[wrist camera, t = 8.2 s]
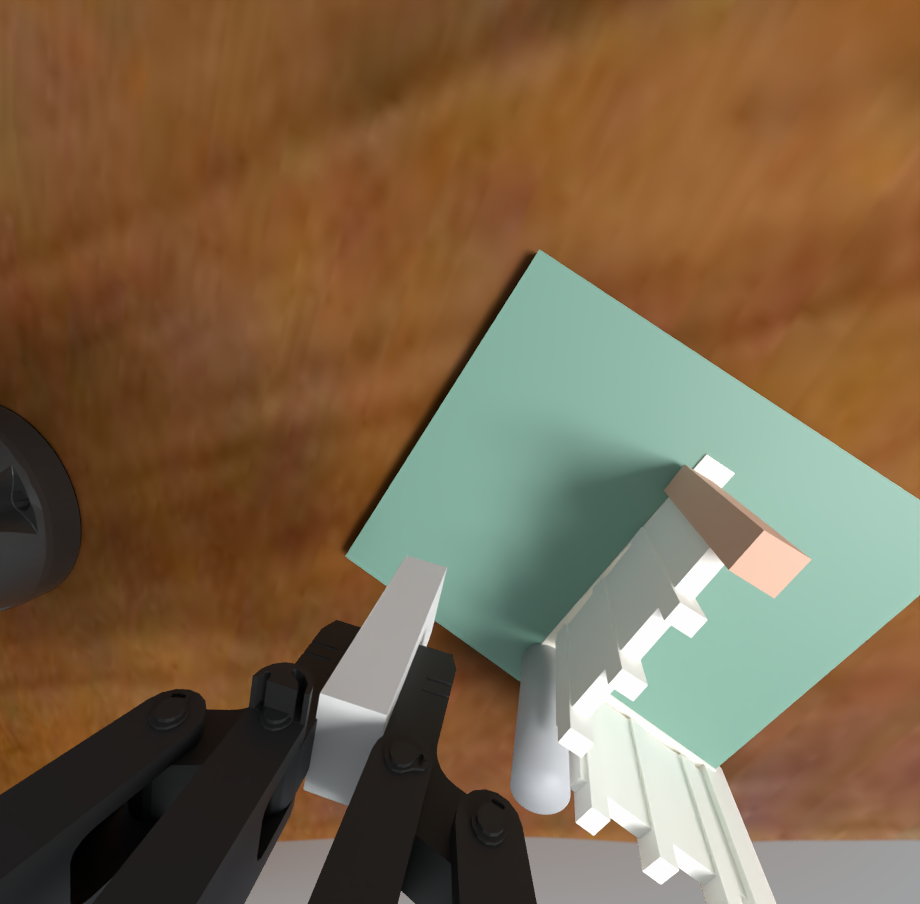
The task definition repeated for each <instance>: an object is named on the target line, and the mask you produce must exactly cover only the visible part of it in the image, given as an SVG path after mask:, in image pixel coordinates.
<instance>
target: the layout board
mask: <svg viewBox="0 0 920 904" xmlns="http://www.w3.org/2000/svg"><path fill="white" fill-rule="evenodd" d="M684 464H685V465H687V466H688V467H690V468H692V469H693V470H695V471H696V472H698V473H700V474H701V475H703V476H705V477H706V478H708V479H710V480H711V481H713V482H714V483H716V484H717V485H718V486H719V487H721V488H722V489H723V490H724V491H726V492H727V493H728V494H729V495H731V496H732V497H733V498H735V499H736V500H737V501H738V502H740V503H741V504H742V505H743V506H745V507H746V508H747V509H748V510H750V511H751V512H752V513H754V514H755V515H756V516H757V517H759V518H760V519H761V520H762V521H764V522H765V523H766V524H767V525H769V526H770V527H771V528H773V529H774V530H775V531H776V532H778V533H779V534H780V535H781V536H783V537H784V538H785V539H786V540H788V541H789V542H790V543H792V544H793V545H794V546H795V547H797V548H798V549H799V550H800V551H802V552H803V553H804V554H805V555H807V556H808V557H809V558H811V559H812V560H811V561H810V562H809V563H808V564H807V565H806V566H805V567H804V568H803V569H802V570H801V571H800V572H799V573H798V574H797V575H796V576H795V577H794V579H793V580H792V581H791V582H790V583H789V584H788V585H787V586H786V587H785V588H784V589H783V590H782V591H781V592H780V593H779V594H778V595H777V596H776V597H775V598H773V597H771V596H770V595H768V594H766V593H765V592H763V591H761V590H760V589H758V588H757V587H755V586H753V585H752V584H750V583H749V582H747V581H745V580H744V579H742V578H741V577H739V576H737V575H736V574H734V573H733V572H731V571H729V570H728V569H727V567H726V566H725V565H724V566H723V567H722V568H721V569H720V570H719V572H718V573H717V574H716V575H715V576H714V577H713V578H712V579H711V581H710V582H709V583H708V584H707V585H706V586H705V587H704V588H703V590H702V591H701V592H700V593H699V594H698V595H697V596H696V598H695V599H696V601H697V602H698V604H699V606H700V608H701V609H702V611H703V613H704V614H705V616H706V618H707V621H706V622H705V624H704V625H703V626H702V627H701V628H700V629H699V630H698V631H697V632H696V633H695V634H694V636H693V637H692V638H690V637H689V636H687V635H686V634H684V633H682V632H681V631H679V630H678V629H676V628H675V627H673V626H670V627H669V628H668V629H667V630H666V631H665V633H664V634H663V635H662V636H661V637H660V638H659V639H658V640H657V642H656V643H655V644H654V645H653V646H652V647H651V648H650V649H649V651H648V652H647V653H646V654H645V655H644V656H643V657H642V659H641V663H642V667H643V670H644V673H645V677H646V680H647V684H648V686H647V687H646V688H645V689H644V690H643V691H642V692H641V694H640V695H639V696H638V697H637V698H636V699H635V700H634V701H632V700H630V699H629V698H627V697H626V696H624V695H622V694H621V693H619V692H618V691H616V690H615V689H614V690H613V691H612V692H611V694H610V695H609V696H608V697H607V698H606V699H605V700H604V701H603V702H605V703H606V704H608V705H609V706H610V707H612V708H613V709H615V710H616V711H617V712H619V713H620V714H622V715H623V716H624V717H626V718H627V719H630V718H631V719H633V720H634V721H636V722H637V723H638V724H640V725H641V726H643V727H644V729H645V732H647V733H648V734H650V735H651V736H652V737H654V738H655V739H657V740H658V741H660V742H661V743H662V744H664V745H665V746H667V747H668V748H669V749H671V750H672V751H674V752H675V753H676V754H678V755H680V754H682V755H683V756H685V757H686V758H688V759H689V760H690V761H692V762H693V763H694V764H695V767H696V768H697V769H699V768H700V767H702V766H703V765H704V764H705V765H706V766H708V767H709V768H711V769H712V770H713V771H716V768H717V767H719V766H720V765H721V764H722V763H723V762H724V761H726V760H727V759H728V758H729V757H730V756H731V755H733V754H734V753H735V752H736V751H737V750H739V749H740V748H741V747H742V746H743V745H744V744H746V743H747V742H748V741H749V740H750V739H751V738H753V737H754V736H755V735H756V734H757V733H758V732H760V731H761V730H762V729H763V728H764V727H765V726H767V725H768V724H769V723H770V722H771V721H773V720H774V719H775V718H776V717H777V716H778V715H780V714H781V713H782V712H783V711H784V710H785V709H787V708H788V707H789V706H790V705H791V704H792V703H794V702H795V701H796V700H797V699H798V698H800V697H801V696H802V695H803V694H804V693H805V692H807V691H808V690H809V689H810V688H811V687H812V686H814V685H815V684H816V683H817V682H818V681H819V680H821V679H822V678H823V677H824V676H825V675H826V674H828V673H829V672H830V671H831V670H832V669H834V668H835V667H836V666H837V665H838V664H839V663H841V662H842V661H843V660H844V659H845V658H846V657H848V656H849V655H850V654H851V653H852V652H853V651H855V650H856V649H857V648H858V647H859V646H860V645H862V644H863V643H864V642H865V641H866V640H868V639H869V638H870V637H871V636H872V635H873V634H875V633H876V632H877V631H878V630H879V629H880V628H882V627H883V626H884V625H885V624H886V623H887V622H889V621H890V620H891V619H892V618H893V617H895V616H896V615H897V614H898V613H899V612H900V611H902V610H903V609H904V608H905V607H906V606H907V605H909V604H910V603H911V602H912V601H913V600H914V599H916V598H917V597H918V596H919V595H920V500H919V499H917V498H916V497H914V496H913V495H911V494H910V493H908V492H907V491H905V490H904V489H902V488H901V487H899V486H898V485H896V484H894V483H893V482H891V481H890V480H888V479H887V478H885V477H884V476H882V475H881V474H879V473H878V472H876V471H875V470H873V469H872V468H870V467H869V466H867V465H866V464H864V463H863V462H861V461H860V460H858V459H857V458H855V457H854V456H852V455H850V454H849V453H847V452H846V451H844V450H843V449H841V448H840V447H838V446H837V445H835V444H834V443H832V442H831V441H829V440H828V439H826V438H825V437H823V436H822V435H820V434H819V433H817V432H816V431H814V430H813V429H811V428H810V427H808V426H806V425H805V424H803V423H802V422H800V421H799V420H797V419H796V418H794V417H793V416H791V415H790V414H788V413H787V412H785V411H784V410H782V409H781V408H779V407H778V406H776V405H775V404H773V403H772V402H770V401H769V400H767V399H766V398H764V397H762V396H761V395H759V394H758V393H756V392H755V391H753V390H752V389H750V388H749V387H747V386H746V385H744V384H743V383H741V382H740V381H738V380H737V379H735V378H734V377H732V376H731V375H729V374H728V373H726V372H725V371H723V370H722V369H720V368H718V367H717V366H715V365H714V364H712V363H711V362H709V361H708V360H706V359H705V358H703V357H702V356H700V355H699V354H697V353H696V352H694V351H693V350H691V349H690V348H688V347H687V346H685V345H684V344H682V343H681V342H679V341H678V340H676V339H674V338H673V337H671V336H670V335H668V334H667V333H665V332H664V331H662V330H661V329H659V328H658V327H656V326H655V325H653V324H652V323H650V322H649V321H647V320H646V319H644V318H643V317H641V316H640V315H638V314H637V313H635V312H634V311H632V310H630V309H629V308H627V307H626V306H624V305H623V304H621V303H620V302H618V301H617V300H615V299H614V298H612V297H611V296H609V295H608V294H606V293H605V292H603V291H602V290H600V289H599V288H597V287H596V286H594V285H593V284H591V283H590V282H588V281H586V280H585V279H583V278H582V277H580V276H579V275H577V274H576V273H574V272H573V271H571V270H570V269H568V268H567V267H565V266H564V265H562V264H561V263H559V262H558V261H556V260H555V259H553V258H552V257H550V256H549V255H547V254H546V253H544V252H542V251H541V250H539V251H538V253H537V254H536V256H535V257H534V259H533V260H532V262H531V264H530V265H529V267H528V268H527V270H526V272H525V273H524V275H523V276H522V278H521V279H520V281H519V283H518V284H517V286H516V287H515V289H514V290H513V292H512V294H511V295H510V297H509V298H508V300H507V302H506V303H505V305H504V306H503V308H502V309H501V311H500V313H499V314H498V316H497V317H496V319H495V321H494V322H493V324H492V325H491V327H490V328H489V330H488V332H487V333H486V335H485V336H484V338H483V339H482V341H481V343H480V344H479V346H478V347H477V349H476V351H475V352H474V354H473V355H472V357H471V358H470V360H469V362H468V363H467V365H466V366H465V368H464V370H463V371H462V373H461V374H460V376H459V377H458V379H457V381H456V382H455V384H454V385H453V387H452V388H451V390H450V392H449V393H448V395H447V396H446V398H445V400H444V401H443V403H442V404H441V406H440V407H439V409H438V411H437V412H436V414H435V415H434V417H433V419H432V420H431V422H430V423H429V425H428V426H427V428H426V430H425V431H424V433H423V434H422V436H421V437H420V439H419V441H418V442H417V444H416V445H415V447H414V449H413V450H412V452H411V453H410V455H409V456H408V458H407V460H406V461H405V463H404V464H403V466H402V467H401V469H400V471H399V472H398V474H397V475H396V477H395V479H394V480H393V482H392V483H391V485H390V486H389V488H388V490H387V491H386V493H385V494H384V496H383V498H382V499H381V501H380V502H379V504H378V505H377V507H376V509H375V510H374V512H373V513H372V515H371V516H370V518H369V520H368V521H367V523H366V524H365V526H364V528H363V529H362V531H361V532H360V534H359V535H358V537H357V539H356V540H355V542H354V543H353V545H352V547H351V548H350V550H349V551H348V553H347V554H346V556H345V557H347V558H348V559H349V560H351V561H352V562H354V563H355V564H356V565H358V566H359V567H361V568H362V569H363V570H365V571H366V572H368V573H369V574H370V575H372V576H373V577H375V578H376V579H377V580H379V581H380V582H382V583H383V584H384V585H386V586H388V584H389V582H390V581H391V579H392V578H393V576H394V574H395V573H396V571H397V570H398V568H399V567H400V565H401V563H402V562H403V560H404V559H405V557H406V556H410V557H413V558H417V559H420V560H424V561H427V562H431V563H434V564H437V565H441V566H444V567H447V570H446V574H445V578H444V582H443V586H442V591H441V595H440V599H439V603H438V607H437V611H436V616H435V621H436V622H437V623H439V624H440V625H442V626H443V627H444V628H446V629H447V630H448V631H450V632H451V633H453V634H454V635H455V636H457V637H458V638H460V639H461V640H462V641H464V642H465V643H467V644H468V645H469V646H471V647H472V648H474V649H475V650H476V651H478V652H479V653H481V654H482V655H483V656H485V657H486V658H488V659H489V660H490V661H492V662H493V663H494V664H496V665H497V666H499V667H500V668H501V669H503V670H504V671H506V672H507V673H508V674H510V675H511V676H513V677H514V678H515V679H517V680H518V681H520V682H521V673H522V662H523V655H524V653H525V651H526V650H527V649H528V648H529V647H530V646H532V645H535V644H540V643H541V644H542V645H549V646H551V647H554V648H555V640H556V639H557V633H558V632H559V631H560V630H561V628H562V627H563V626H564V624H565V623H567V624H569V623H570V621H571V620H572V619H573V618H574V616H575V615H576V614H577V613H578V611H579V610H580V609H581V608H582V606H583V605H584V604H585V602H586V601H587V600H588V599H589V597H590V596H591V595H592V594H593V592H592V589H593V588H594V586H595V585H596V584H597V583H598V581H599V580H600V579H601V578H602V577H603V578H604V579H605V577H606V576H607V575H608V573H609V572H610V571H611V570H612V568H613V567H614V566H615V565H616V563H617V562H618V561H619V560H620V558H621V557H622V556H623V555H624V553H625V552H626V551H627V550H628V548H629V547H630V546H631V544H632V543H631V540H632V538H633V537H634V536H635V535H636V533H637V532H638V531H639V530H640V528H641V527H642V528H645V527H646V526H647V524H648V523H649V522H650V521H651V519H652V518H653V517H654V516H655V514H656V513H657V512H658V510H659V509H660V508H661V507H662V505H663V504H664V503H665V502H666V500H667V499H668V498H669V496H668V495H667V494H666V493H665V492H664V490H665V488H666V487H667V486H668V484H669V483H670V482H671V481H672V479H673V478H674V477H675V476H676V474H677V473H678V472H679V470H680V469H681V468H682V467H683V465H684Z"/></svg>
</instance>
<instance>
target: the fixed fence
mask: <svg viewBox="0 0 920 904" xmlns="http://www.w3.org/2000/svg"><path fill="white" fill-rule="evenodd" d="M592 724H593V733H594V742H595V744H594V745H593V746H592V747H591V748H590V749H589V750H588V752H587V753H586V754H585V755H584V756H583V757H582V758H581V757H579V756H578V755H576V754H575V753H573V752H572V751H570V750H569V749H567V748H566V747H564V746H563V745H561V744H560V743H558V727H556V662H555V648H554V647H551V646H549V645H542V644H541V643H540V644H535V645H532V646H530V647H529V648H528V649H527V650H526V651H525V653H524V655H523V662H522V673H521V683H520V693H519V703H518V713H517V723H516V733H515V743H514V753H513V763H512V773H511V783H510V787H511V792H512V794H513V796H514V798H515V799H516V801H517V802H518V803H519V804H520V805H521V806H523V807H524V808H526V809H527V810H529V811H532V812H534V813H538V814H554V813H557V812H559V811H561V810H563V809H564V808H565V807H566V806H567V804H568V802H569V800H570V789H571V790H573V791H574V802H575V822H576V823H577V824H578V825H580V826H581V827H583V828H584V829H585V830H587V831H588V832H589V833H591V834H592V835H593V836H594V835H595V834H596V833H597V832H598V831H599V830H601V829H602V828H603V827H604V826H605V825H606V824H607V823H608V822H610V818H611V819H613V820H614V821H615V822H617V823H618V824H620V825H621V826H622V827H624V828H625V829H626V830H628V831H629V832H631V833H632V834H633V835H635V836H636V837H637V842H638V848H639V853H640V860H641V865H642V871H643V872H644V873H646V874H647V875H648V876H650V877H651V878H652V879H654V880H655V881H657V882H658V883H659V884H663V883H664V882H665V881H666V880H668V879H669V878H670V877H672V876H673V875H674V874H675V873H677V872H678V871H679V868H680V869H682V870H683V871H684V872H686V873H687V874H688V875H690V876H691V877H693V878H694V879H695V880H697V881H698V882H700V884H701V888H702V892H703V895H704V899H705V902H706V904H776V902H775V899H774V897H773V894H772V892H771V889H770V887H769V884H768V882H767V879H766V877H765V874H764V872H763V870H762V867H761V865H760V862H759V860H758V857H757V855H756V852H755V850H754V848H753V845H752V843H751V840H750V838H749V835H748V833H747V830H746V828H745V825H744V823H743V820H742V818H741V816H740V813H739V811H738V808H737V806H736V803H735V801H734V798H733V796H732V793H731V791H730V788H729V786H728V784H727V781H726V779H725V776H724V774H723V771H722V769H721V768H720V767H717V768H716V771H713V770H712V769H711V768H709V767H708V766H706V765H705V764H704V765H703V766H702V767H700V768H699V769H697V768H696V767H695V764H694V763H693V762H692V761H690V760H689V759H688V758H686V757H685V756H683V755H682V754H680V755H678V754H676V753H675V752H674V751H672V750H671V749H669V748H668V747H667V746H665V745H664V744H662V743H661V742H660V741H658V740H657V739H655V738H654V737H652V736H651V735H650V734H648V733H647V732H645V729H644V727H643V726H641V725H640V724H638V723H637V722H636V721H634V720H633V719H631V718H630V719H627V718H626V717H624V716H623V715H622V714H620V713H619V712H617V711H616V710H615V709H613V708H612V707H610V706H609V705H608V704H606V703H605V702H603V703H602V704H601V705H600V706H599V707H598V708H597V709H596V710H595V712H594V713H593V714H592ZM678 867H679V868H678Z"/></svg>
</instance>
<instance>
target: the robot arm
mask: <svg viewBox="0 0 920 904" xmlns="http://www.w3.org/2000/svg"><path fill="white" fill-rule="evenodd" d="M80 538H81V523H80V514H79V508H78V504H77V500H76V496H75V493H74V490H73V487H72V484H71V482H70V480H69V477H68V475H67V473H66V471H65V469H64V467H63V465H62V464H61V462H60V460H59V459H58V457H57V456H56V454H55V453H54V451H53V450H52V448H51V447H50V446H49V444H48V443H47V442H46V441H45V440H44V438H43V437H42V436H41V435H40V434H39V433H38V432H37V431H36V430H35V429H34V428H33V427H32V426H31V425H30V424H28V423H27V422H26V421H25V420H23V419H22V418H21V417H19V416H18V415H16V414H15V413H13V412H12V411H10V410H8V409H6V408H4V407H2V406H0V611H3V610H7V609H10V608H13V607H16V606H19V605H21V604H23V603H25V602H27V601H30V600H32V599H34V598H36V597H38V596H40V595H43V594H45V593H47V592H49V591H51V590H53V589H54V588H56V587H57V586H58V585H60V584H61V583H62V582H63V581H64V580H65V579H66V577H67V576H68V575H69V573H70V572H71V570H72V568H73V566H74V564H75V561H76V559H77V555H78V551H79V546H80ZM446 570H447V567H444V566H441V565H437V564H434V563H431V562H427V561H424V560H420V559H417V558H413V557H410V556H406V557H405V559H404V560H403V562H402V563H401V565H400V567H399V568H398V570H397V571H396V573H395V574H394V576H393V578H392V579H391V581H390V582H389V584H388V586H387V587H386V589H385V590H384V592H383V594H382V595H381V597H380V598H379V600H378V602H377V603H376V605H375V606H374V608H373V610H372V611H371V613H370V614H369V616H368V618H367V619H366V621H365V622H364V624H363V625H362V627H357V626H354V625H351V624H348V623H344V622H341V621H338V620H336V621H334V622H333V623H331V624H329V625H327V626H326V627H324V628H322V629H321V631H320V632H319V633H318V634H317V636H316V637H315V638H314V640H313V641H312V644H310V645H309V646H308V648H307V649H306V650H305V652H304V654H302V655H301V657H300V658H299V659H298V661H297V662H296V663H295V664H293V663H286V662H285V663H276V664H272V665H269V666H267V667H264V668H262V669H261V670H260V671H258V672H257V673H256V674H255V675H253V679H252V687H251V695H250V703H249V707H248V708H244V709H239V710H207V709H206V703H205V700H204V699H203V698H202V696H201V695H200V694H199V693H196V692H194V691H191V690H184V689H175V690H171V691H166V692H162V693H160V694H158V695H156V696H154V697H152V698H150V699H148V700H146V701H145V702H143V703H142V704H140V705H139V706H137V707H135V708H134V709H132V710H131V711H129V712H128V713H126V714H125V715H123V716H122V717H120V718H118V719H117V720H115V721H114V722H112V723H111V724H109V725H108V726H106V727H105V728H103V729H101V730H100V731H98V732H97V733H95V734H94V735H92V736H91V737H89V738H87V739H86V740H84V741H83V742H81V743H80V744H78V745H77V746H75V747H74V748H72V749H70V750H69V751H67V752H66V753H64V754H63V755H61V756H60V757H58V758H57V759H55V760H53V761H52V762H50V763H49V764H47V765H46V766H44V767H43V768H41V769H40V770H38V771H36V772H35V773H33V774H32V775H30V776H29V777H27V778H26V779H24V780H23V781H21V782H19V783H18V784H16V785H15V786H13V787H12V788H10V789H9V790H7V791H6V792H4V793H2V794H1V795H0V904H244V903H245V901H246V899H247V897H248V896H249V894H250V891H251V890H252V888H253V886H254V884H255V882H256V880H257V878H258V876H259V875H260V872H261V871H262V869H263V867H264V865H265V863H266V861H267V859H268V857H269V855H270V853H271V851H272V850H273V848H274V846H275V844H276V842H277V840H278V838H279V836H280V834H281V832H282V831H283V829H284V827H285V825H286V823H287V821H288V819H289V817H290V815H291V812H292V809H293V806H294V801H295V795H296V792H297V790H298V788H299V787H300V785H301V783H302V781H303V779H304V777H305V776H306V778H305V784H304V790H306V791H308V792H311V793H314V794H317V795H320V796H322V797H325V798H328V799H331V800H334V801H336V802H339V803H342V804H345V805H348V808H347V810H346V813H345V815H344V817H343V820H342V822H341V825H340V827H339V829H338V832H337V834H336V837H335V839H334V842H333V844H332V847H331V849H330V851H329V854H328V856H327V859H326V861H325V863H324V866H323V868H322V871H321V873H320V875H319V878H318V880H317V883H316V885H315V888H314V890H313V892H312V895H311V897H310V900H309V902H308V904H398V900H399V896H400V892H401V891H402V892H403V893H404V894H406V895H407V896H408V897H409V898H410V899H411V900H412V901H413V902H414V903H415V904H537V903H536V898H535V892H534V886H533V881H532V876H531V870H530V865H529V860H528V854H527V849H526V844H525V838H524V833H523V827H522V824H521V822H520V819H519V816H518V813H517V812H516V811H515V809H514V808H513V806H512V805H511V804H510V802H509V801H508V800H506V799H505V798H503V797H502V796H501V795H499V794H498V793H495V792H492V791H489V790H485V789H484V790H475V791H472V792H470V793H469V794H466V793H464V792H463V791H462V790H460V789H459V788H458V787H456V786H455V785H454V784H453V783H452V782H451V781H450V780H449V779H448V778H447V777H446V776H445V774H444V773H443V771H442V770H441V768H440V765H439V763H438V759H437V744H438V740H439V736H440V732H441V728H442V724H443V720H444V716H445V712H446V708H447V704H448V700H449V696H450V692H451V688H452V684H453V680H454V676H455V672H456V667H455V663H454V660H453V656H452V654H448V653H445V652H442V651H439V650H436V649H432V648H429V647H426V646H427V643H428V641H429V638H430V635H431V632H432V628H433V624H434V620H435V616H436V611H437V607H438V603H439V599H440V595H441V591H442V586H443V582H444V578H445V574H446Z"/></svg>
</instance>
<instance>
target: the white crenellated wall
mask: <svg viewBox="0 0 920 904" xmlns="http://www.w3.org/2000/svg"><path fill="white" fill-rule="evenodd" d="M664 492H665V493H666V494H667V495H668V496H669V498H668V499H667V500H666V502H665V503H664V504H663V505H662V507H661V508H660V509H659V510H658V512H657V513H656V514H655V516H654V517H653V518H652V519H651V521H650V522H649V523H648V524H647V526H646V527H645V528H642V527H641V528H640V530H639V531H638V532H637V533H636V535H635V536H634V537H633V538H632V540H631V543H632V544H631V546H630V547H629V548H628V550H627V551H626V552H625V553H624V555H623V556H622V557H621V558H620V560H619V561H618V562H617V563H616V565H615V566H614V567H613V568H612V570H611V571H610V572H609V573H608V575H607V576H606V577H605V579H604V578H603V577H602V578H601V579H600V580H599V581H598V583H597V584H596V585H595V586H594V588H593V589H592V592H593V594H592V595H591V596H590V597H589V599H588V600H587V601H586V602H585V604H584V605H583V606H582V608H581V609H580V610H579V611H578V613H577V614H576V615H575V616H574V618H573V619H572V620H571V621H570V623H569V624H567V623H565V624H564V626H563V627H562V628H561V630H560V631H559V632H558V633H557V639H556V640H555V662H556V727H558V743H560V744H561V745H563V746H564V747H566V748H567V749H569V750H570V751H572V752H573V753H575V754H576V755H578V756H579V757H581V758H582V757H583V756H584V755H585V754H586V753H587V752H588V750H589V749H590V748H591V747H592V746H593V745H594V744H595V742H594V733H593V724H592V714H593V713H594V712H595V710H596V709H597V708H598V707H599V706H600V705H601V704H602V703H603V701H604V700H605V699H606V698H607V697H608V696H609V695H610V694H611V692H612V691H613V690H614V689H615V690H616V691H618V692H619V693H621V694H622V695H624V696H626V697H627V698H629V699H630V700H632V701H634V700H635V699H636V698H637V697H638V696H639V695H640V694H641V692H642V691H643V690H644V689H645V688H646V687H647V686H648V684H647V680H646V677H645V673H644V670H643V667H642V663H641V659H642V657H643V656H644V655H645V654H646V653H647V652H648V651H649V649H650V648H651V647H652V646H653V645H654V644H655V643H656V642H657V640H658V639H659V638H660V637H661V636H662V635H663V634H664V633H665V631H666V630H667V629H668V628H669V627H670V626H673V627H675V628H676V629H678V630H679V631H681V632H682V633H684V634H686V635H687V636H689V637H690V638H692V637H693V636H694V634H695V633H696V632H697V631H698V630H699V629H700V628H701V627H702V626H703V625H704V624H705V622H706V621H707V618H706V616H705V614H704V613H703V611H702V609H701V608H700V606H699V604H698V602H697V601H696V599H695V598H696V596H697V595H698V594H699V593H700V592H701V591H702V590H703V588H704V587H705V586H706V585H707V584H708V583H709V582H710V581H711V579H712V578H713V577H714V576H715V575H716V574H717V573H718V572H719V570H720V569H721V568H722V567H723V566H724V565H725V566H726V567H727V569H728V570H729V571H731V572H733V573H734V574H736V575H737V576H739V577H741V578H742V579H744V580H745V581H747V582H749V583H750V584H752V585H753V586H755V587H757V588H758V589H760V590H761V591H763V592H765V593H766V594H768V595H770V596H771V597H773V598H775V597H776V596H777V595H778V594H779V593H780V592H781V591H782V590H783V589H784V588H785V587H786V586H787V585H788V584H789V583H790V582H791V581H792V580H793V579H794V577H795V576H796V575H797V574H798V573H799V572H800V571H801V570H802V569H803V568H804V567H805V566H806V565H807V564H808V563H809V562H810V561H811V560H812V559H811V558H809V557H808V556H807V555H805V554H804V553H803V552H802V551H800V550H799V549H798V548H797V547H795V546H794V545H793V544H792V543H790V542H789V541H788V540H786V539H785V538H784V537H783V536H781V535H780V534H779V533H778V532H776V531H775V530H774V529H773V528H771V527H770V526H769V525H767V524H766V523H765V522H764V521H762V520H761V519H760V518H759V517H757V516H756V515H755V514H754V513H752V512H751V511H750V510H748V509H747V508H746V507H745V506H743V505H742V504H741V503H740V502H738V501H737V500H736V499H735V498H733V497H732V496H731V495H729V494H728V493H727V492H726V491H724V490H723V489H722V488H721V487H719V486H718V485H717V484H716V483H714V482H713V481H711V480H710V479H708V478H706V477H705V476H703V475H701V474H700V473H698V472H696V471H695V470H693V469H692V468H690V467H688V466H687V465H685V464H684V465H683V467H682V468H681V469H680V470H679V472H678V473H677V474H676V476H675V477H674V478H673V479H672V481H671V482H670V483H669V484H668V486H667V487H666V488H665V490H664Z"/></svg>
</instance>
